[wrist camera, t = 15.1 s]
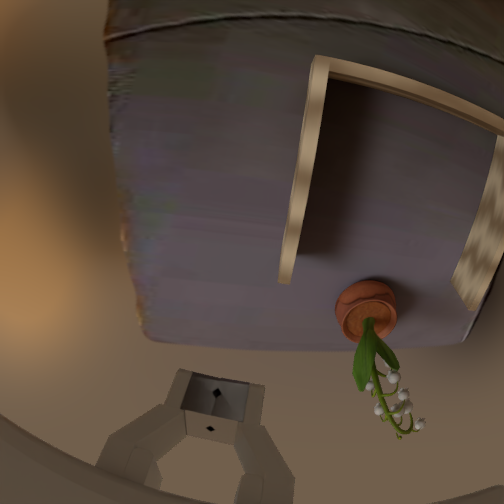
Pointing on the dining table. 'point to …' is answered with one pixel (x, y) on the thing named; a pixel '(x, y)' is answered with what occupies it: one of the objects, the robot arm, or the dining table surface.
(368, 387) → the potted flower
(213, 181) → the dining table surface
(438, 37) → the dining table surface
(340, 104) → the dining table surface
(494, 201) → the open wooden planter box
